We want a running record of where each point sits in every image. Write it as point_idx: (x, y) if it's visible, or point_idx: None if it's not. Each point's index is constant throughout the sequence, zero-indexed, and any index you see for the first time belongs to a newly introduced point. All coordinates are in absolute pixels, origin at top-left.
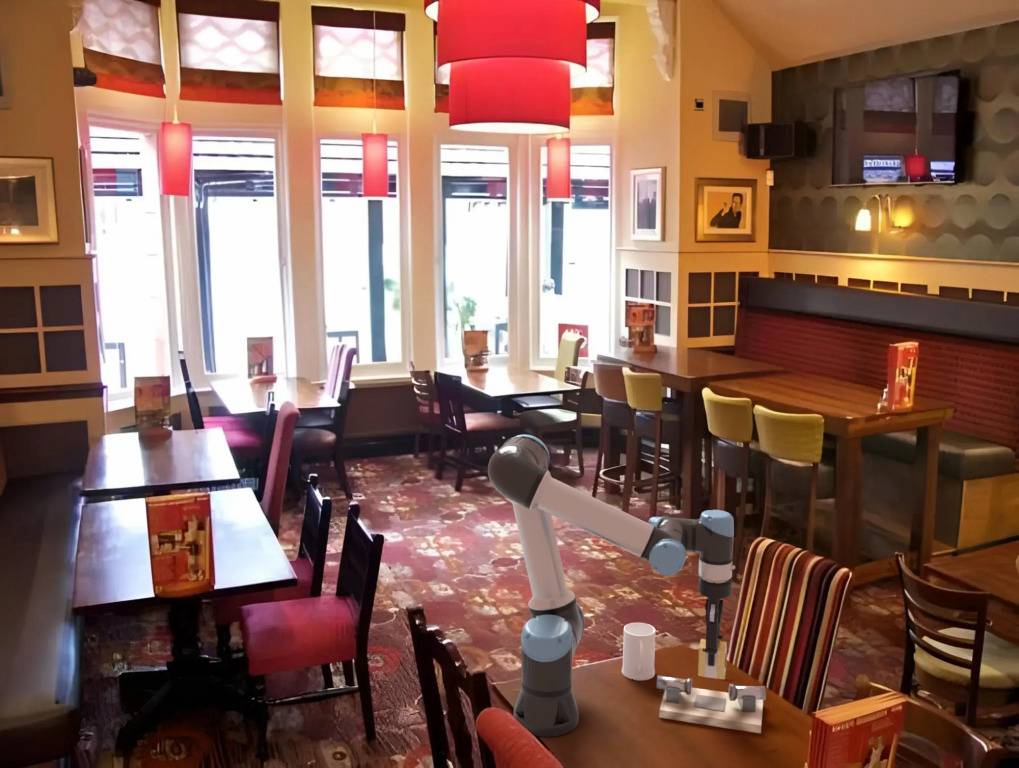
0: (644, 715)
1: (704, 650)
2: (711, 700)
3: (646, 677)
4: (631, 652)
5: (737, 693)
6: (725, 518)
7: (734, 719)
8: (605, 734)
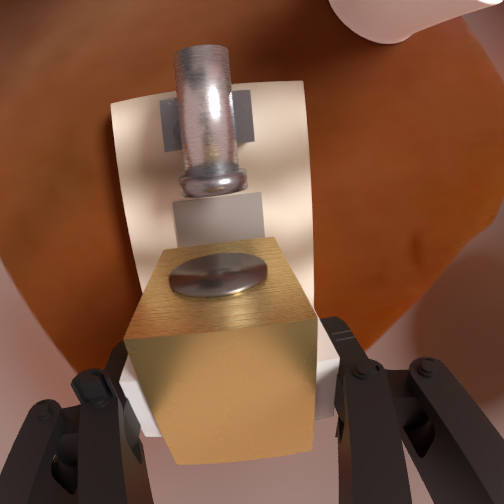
0: (116, 64)
1: (78, 388)
2: None
3: (345, 19)
4: None
5: None
6: None
7: None
8: (6, 32)
